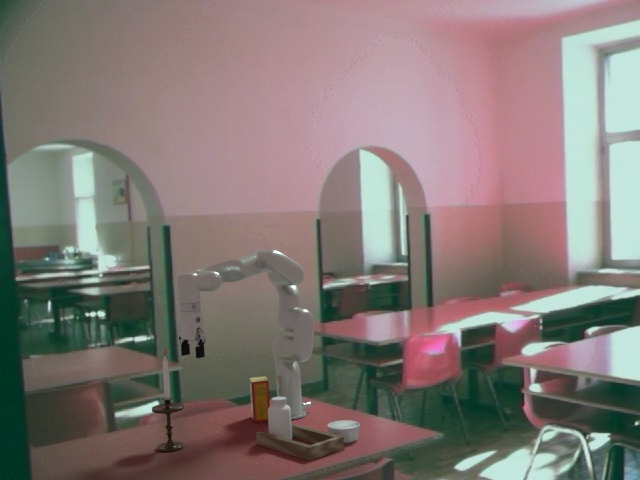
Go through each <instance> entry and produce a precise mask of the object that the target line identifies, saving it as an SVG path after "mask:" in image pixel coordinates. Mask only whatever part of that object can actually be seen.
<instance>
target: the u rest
mask: <svg viewBox="0 0 640 480" xmlns="http://www.w3.org/2000/svg"><path fill="white" fill-rule="evenodd" d="M291 424H292V440H290V439H286V438H283V437H279V436H275V435H272V434H269V432H268V433H267V432H264V431H258V432H255V437H256V445H259V446H261V447H265V448H268V449H271V450H273V451H278V452H281V453H284V454H287V455H291V456H295V457H296V458H300V459H303V460H307V461H313V460H316V459H319V458H323V457H325V456H328V455H331V454H333V453H336V452H339V451H343V450H345V443H344V437H343V436H339V435H335V434H331V433H329V432H326V431H323V430H319V429H314V428H311V427H306V426H303V425H299V424H295V423H291ZM293 439H297V440H300V441H305V442H309V443H312V444H307V443H304V442H300V441H296V440H293Z"/></svg>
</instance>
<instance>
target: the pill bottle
mask: <svg viewBox="0 0 640 480" xmlns="http://www.w3.org/2000/svg"><path fill="white" fill-rule="evenodd" d="M270 401H271V403H270V407H269V408H268V422H267V423H268V434H272V435H275V436H279V437H283V438H286V439H290V440H293V437H292V424H293V423H292V419H291V409H290V407H289V406H288V405H286V402H287V399H286V397H277V396H275V397H271V400H270Z"/></svg>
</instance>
